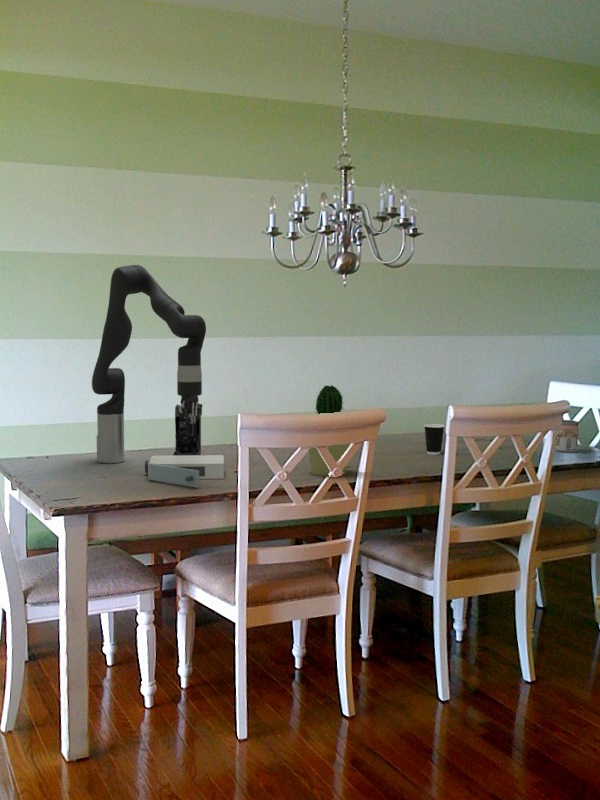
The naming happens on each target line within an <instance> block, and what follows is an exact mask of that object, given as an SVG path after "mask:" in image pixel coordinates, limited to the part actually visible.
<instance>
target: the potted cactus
mask: <svg viewBox="0 0 600 800" xmlns="http://www.w3.org/2000/svg"><path fill="white" fill-rule="evenodd" d="M316 397H317V398H316V401H315V402H316V403H315V411H316V413H315V414H317V415H318V414H320V413H334V412H340V413H341V412H343V410H345V408H344V407H343V404H345V402H343V398H344V395H342V393H341V392H340V390H339V389H338V388H337V387H336V386H334V385H333V384H332V385H331V384H330V385H325V384H324V385H323V387H322V388H321V390H319V392H318V394H317V396H316ZM348 447H349V448H350V445H349V444H345V445H333V446H328V450H329V452H330V453H331V454H332V456H333V458H334V459H335V461H338V460H339V459H340V458H341V456H342V455H343V454H344V452H345V451H346V450H347V448H348ZM308 454H309V456H308V457H309V461H310V462H309V463H310V471H311V474H313V475H317V476H323V477H328V476H327V475H328V473H329V469H328V467H327V465H326V464H325V462H324V461H323V459H322V458H321V456H320V454H319V453H318V450H317V449H316V448H311V449H308ZM346 468H347V466H346V467H345V468H344V469H343V472H345V473H346V470H347V469H346Z"/></svg>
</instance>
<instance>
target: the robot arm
mask: <svg viewBox="0 0 600 800" xmlns="http://www.w3.org/2000/svg"><path fill="white" fill-rule="evenodd" d="M109 287H110V288H109V296H108V297H109V298H108V299H109V300H108V307H107V312H106V317H105V323H104V325H103V330H102V331H103V332H102V335H101V336H102V337H101V343H100V349H99V352H98V357H97V360H96V363H95V366H94V370H93V373H92V377H91V388H92V390H93V393H94V394H95V395H111V398H109V399H108V400H106V401H105V402H103V403H101V404H99V405H98V406H97V408H96V413H97V414H96V415H97V417H96V418H97V419H96V420H97V421H96V422H97V424H96V426H97V435H96V463H101V464H116V463H123V462H125V420H124V419H125V415H124V413H125V411H124V410H125V390H126V389H125V388H126V380H125V379H126V377H125V372H124V370H123V369H121V368H120V367H115V368H114V367H110V366H111V365H112V363H113V362H114V361H116V359H117V358H118V357H119V356H120V355H121V354H122V353H123V352H124V351H125V350H126V348H128V346H129V343H130V342H131V341H130V340H131V336H132V331H133V325H132V323H133V322H132V321H131V318H130V317H129V315H128V313H127V311H126V309H125V307H126V301H127V297H128V296H129V295H134V294H139V293H143V294H145V295H146V296H148V297H149V299H150V305H151V309H152V311H153V312H154V313H155V314H156V315H157V316H158V317H159V318H160V319H161V320H162V321H163V322H165V323H166V325H167V327H168V328H169V330H170V332H171V333H172V334H173V335H174V336H175V337H178V338H180V339H187V341H186V344H185V345H182V346H180V347H179V348H178V350H177V371H176V372H177V375H176V376H177V377H176V381H177V382H176V383H177V384H176V388H177V389H176V390H177V391H176V392H177V393H176V394H177V395H178V396H179V397H181V398H180V407H177V412H178V414H179V417H180V419H181V421H182V422H184V423H185V424H186V436H193V435H194V423H195V421H198V418H199V415H200V412H201V409H202V410H203V404H202V403H200V402H199V396H202V395H203V391H202V390H203V382H202V381H203V378H202V377H203V376H202V375H203V373H202V372H203V371H202V366H201V365H202V363H201V362H202V361H201V360H202V359H201V358H202V356H201V355H202V354H201V353H202V349H203V344H204V340H205V337H206V333H207V324H206V321H205V319H204V318H203V316H201V315H198V314H197V315H196V314H189V315H187V314H186V312H185V309H184V307H183V306H182V305H181V304H180V303H178V302H177V301H176V300H175V299H173V298H172V297H171V296H170V295H168V293H166V291H165V290H164V289H163V288H162V287H161V286H160V284H159V283H158V282H157V280H155V278H154V277H153V276H152V275H151V274H150V273H149V271H148V270H147V269H146V268H145V267H144V266H142V265H139V264H130V265H124V266H118V267H117V268H115V269H114V270H113V272H112V275H111V279H110V286H109Z"/></svg>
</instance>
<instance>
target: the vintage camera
mask: <svg viewBox="0 0 600 800" xmlns="http://www.w3.org/2000/svg"><path fill="white" fill-rule="evenodd" d="M180 406H181V404H176V405H175V407H174V424H175V425H174V426H175V431H174V432H175V435H174V438H175V447H174V448H175V451H173V454H172V456H185V455H202V415H203V408H202V409H201V412H200V415H199V418H198V421H195V423H194V435H193V436H186V424H185V423H184V422H182V421H181V419H180V417H179V414H178V412H177V407H180Z"/></svg>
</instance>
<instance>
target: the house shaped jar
mask: <svg viewBox="0 0 600 800" xmlns="http://www.w3.org/2000/svg"><path fill="white" fill-rule="evenodd" d="M561 420H562V424H561V426H560V429H559V432H558V438H557V445H556V444H555V450H556V451H557V452H559V453H565V454H573V453H574V454H575V453H577V451H578V449H579V424H580V422H579V421H577V420H571V419H561Z"/></svg>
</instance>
